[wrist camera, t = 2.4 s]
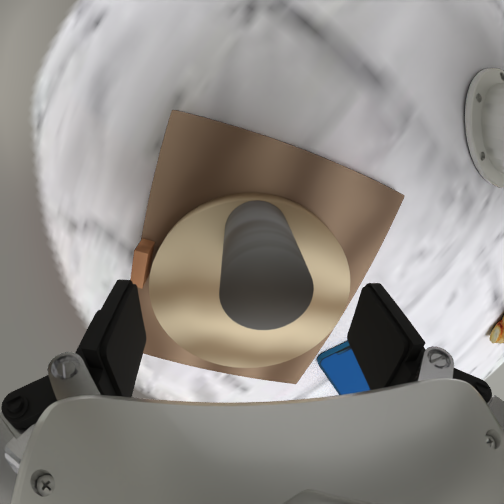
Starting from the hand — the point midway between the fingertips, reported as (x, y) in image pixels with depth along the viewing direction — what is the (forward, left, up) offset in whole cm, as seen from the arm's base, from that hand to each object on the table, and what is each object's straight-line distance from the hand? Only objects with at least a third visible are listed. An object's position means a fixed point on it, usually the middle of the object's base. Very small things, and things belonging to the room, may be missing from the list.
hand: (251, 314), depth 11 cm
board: (-2, +5, -12) cm, 13 cm away
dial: (-2, +5, -10) cm, 11 cm away
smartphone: (-20, +15, -12) cm, 28 cm away
